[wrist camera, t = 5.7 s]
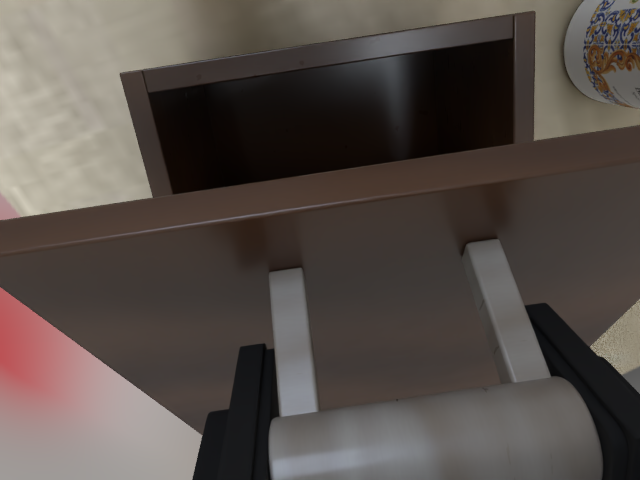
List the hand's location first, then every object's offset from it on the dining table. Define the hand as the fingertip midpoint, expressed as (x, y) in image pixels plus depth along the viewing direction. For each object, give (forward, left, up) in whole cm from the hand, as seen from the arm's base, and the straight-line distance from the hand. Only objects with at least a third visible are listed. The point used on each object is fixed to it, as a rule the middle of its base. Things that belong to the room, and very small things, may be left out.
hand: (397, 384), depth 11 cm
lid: (+1, -1, -5) cm, 5 cm away
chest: (0, 0, -21) cm, 21 cm away
